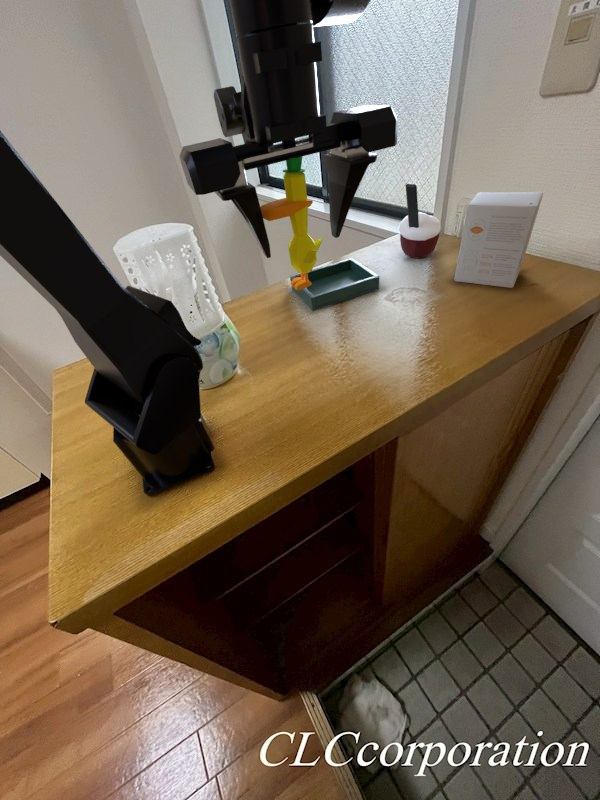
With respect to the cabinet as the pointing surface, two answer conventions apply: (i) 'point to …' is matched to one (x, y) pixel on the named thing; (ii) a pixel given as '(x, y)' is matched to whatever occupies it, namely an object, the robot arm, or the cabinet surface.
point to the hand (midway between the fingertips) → (302, 246)
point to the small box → (496, 237)
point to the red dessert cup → (418, 228)
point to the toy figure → (296, 221)
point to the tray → (337, 283)
